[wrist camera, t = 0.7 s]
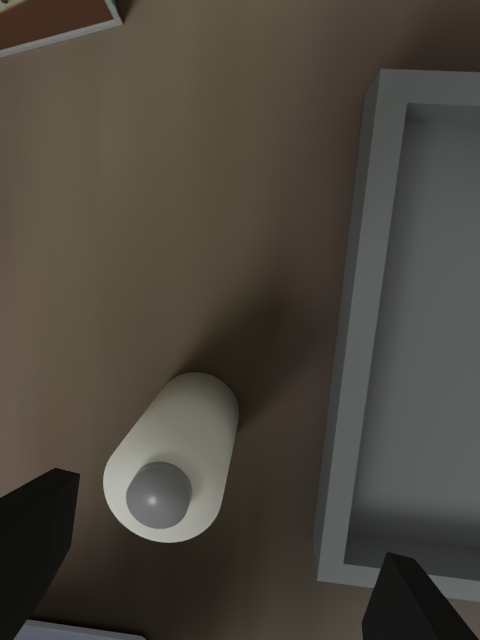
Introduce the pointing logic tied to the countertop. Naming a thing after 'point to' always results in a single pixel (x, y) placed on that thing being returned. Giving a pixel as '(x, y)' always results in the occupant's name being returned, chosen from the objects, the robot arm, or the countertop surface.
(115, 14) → the food container
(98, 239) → the countertop surface
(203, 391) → the cell
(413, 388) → the tray
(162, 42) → the countertop surface
